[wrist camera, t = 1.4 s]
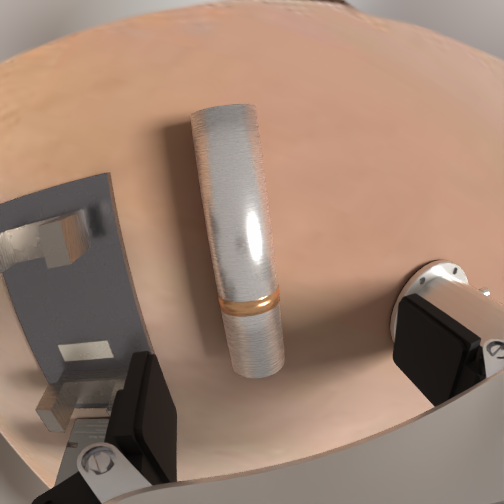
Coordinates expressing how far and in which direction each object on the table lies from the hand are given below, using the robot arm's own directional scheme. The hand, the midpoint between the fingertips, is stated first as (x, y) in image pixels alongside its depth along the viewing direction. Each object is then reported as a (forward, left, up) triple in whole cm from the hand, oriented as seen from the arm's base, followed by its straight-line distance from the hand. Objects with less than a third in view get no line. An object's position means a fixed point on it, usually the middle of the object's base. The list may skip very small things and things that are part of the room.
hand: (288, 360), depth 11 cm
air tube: (0, 0, -15) cm, 15 cm away
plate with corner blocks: (+17, +4, -18) cm, 25 cm away
